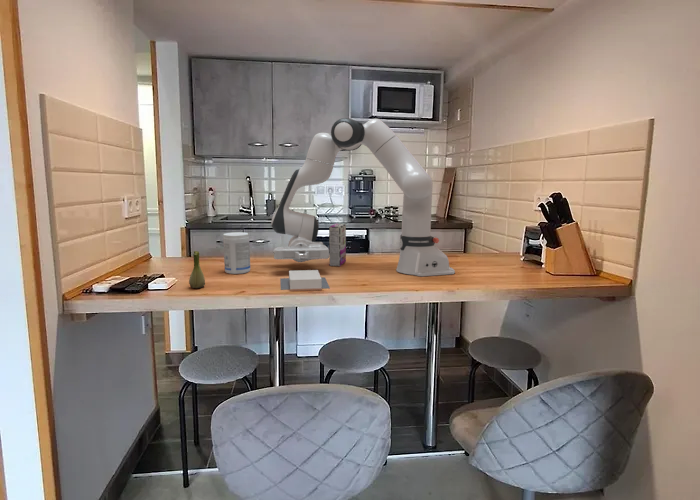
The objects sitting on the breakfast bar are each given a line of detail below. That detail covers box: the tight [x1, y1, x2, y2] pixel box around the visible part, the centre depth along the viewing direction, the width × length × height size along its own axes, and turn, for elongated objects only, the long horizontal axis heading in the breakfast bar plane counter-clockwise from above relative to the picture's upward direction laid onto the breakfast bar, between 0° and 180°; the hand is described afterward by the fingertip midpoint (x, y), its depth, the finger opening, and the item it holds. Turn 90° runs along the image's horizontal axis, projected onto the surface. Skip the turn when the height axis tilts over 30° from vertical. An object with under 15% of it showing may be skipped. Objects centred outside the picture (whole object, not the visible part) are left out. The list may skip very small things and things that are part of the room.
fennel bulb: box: [188, 251, 206, 289], centre depth 149 cm, size 6×5×12 cm
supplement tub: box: [222, 231, 251, 275], centre depth 173 cm, size 10×10×15 cm
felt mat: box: [279, 276, 331, 291], centre depth 156 cm, size 16×16×1 cm
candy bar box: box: [328, 223, 347, 267], centre depth 190 cm, size 11×5×16 cm, turn 168°
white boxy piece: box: [288, 269, 323, 292], centre depth 153 cm, size 10×4×14 cm
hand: (302, 256), depth 162 cm, fingers closed
